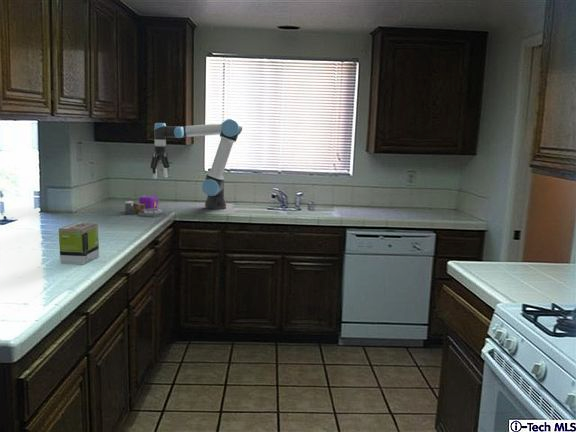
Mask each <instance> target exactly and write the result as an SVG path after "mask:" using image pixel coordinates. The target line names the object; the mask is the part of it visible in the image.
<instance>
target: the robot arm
mask: <svg viewBox="0 0 576 432" xmlns="http://www.w3.org/2000/svg"><path fill="white" fill-rule="evenodd" d="M153 129H154V137H153V138H154V150H153V151H154V152H155V153H152V156H151V157H152V158H151V162H150V169H152V179H155V180H156V179H157V178H158V169H157V167H158V165H159V161H161V163H162V165H163V178H168V169H169V168H170V165H171V164H170V161H169V158H168V153H167V152H166V151H167V146H166V145H167V138H174V139H175V138H177V139H181V138H189V137H204V136H215V135H218V136H219V138H220V141H219V144H218V147H217V149H216V153H215V155H214V159H213V162H212V165H211V168H210V171H209V172H208V173H206V176H205V178H204V180H203V182H202V184H201V190H202V192H203V194H205V195H207V196H206V199H205V200H206V201H205V203H204V209H207V210H223V209H224V210H225V209H227V204H226V203H227V202H226V200H225V177H224V176H223V175H224V171H225V169H226V165H227V163H228V159H229V157H230V153H231V151H232V148H233V145H234V143H236V142H237V140H238V136H239V135H240V134H241V133H242V131H243V125H242V122H241V121H240V120H238V119H237V118H236V119H235V118H231V117H230V118H227V119H225V120H224V121H222V122H220V123H209V124H207V123H205V124H198V125H195V124H193V125H184V126H175V125H174V126H173V125H172V126H169V125H166V123H165V122H156V123H154V128H153Z"/></svg>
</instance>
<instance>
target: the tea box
mask: <svg viewBox="0 0 576 432" xmlns="http://www.w3.org/2000/svg"><path fill="white" fill-rule="evenodd" d="M58 242H59V243H58V244H59V259H60V260H59V261H60V264H61V265H77V266H78V265H79V266H80V265H85V264H87V263H89V262H91V261H93V260H94V259H96V258H98V257H100V248H99V247H100V245H99V243H100V241H99V224H98V222H97V223H96V222H73V223H71V224H68V225H65V226H63V227H60V228H58Z"/></svg>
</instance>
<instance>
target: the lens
mask: <svg viewBox="0 0 576 432" xmlns="http://www.w3.org/2000/svg"><path fill="white" fill-rule="evenodd" d="M133 203H134V201H127V200H126V201H125V202H124V215H125V214H126V215H127V216H131V215H134V213H133Z"/></svg>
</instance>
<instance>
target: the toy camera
mask: <svg viewBox="0 0 576 432" xmlns="http://www.w3.org/2000/svg"><path fill="white" fill-rule="evenodd" d="M138 204H145V209H149V208H155V209H158V207H159V206H158V205H159V200H158V197H157V196H151V195H141V197H140V196H139V200H138Z"/></svg>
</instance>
